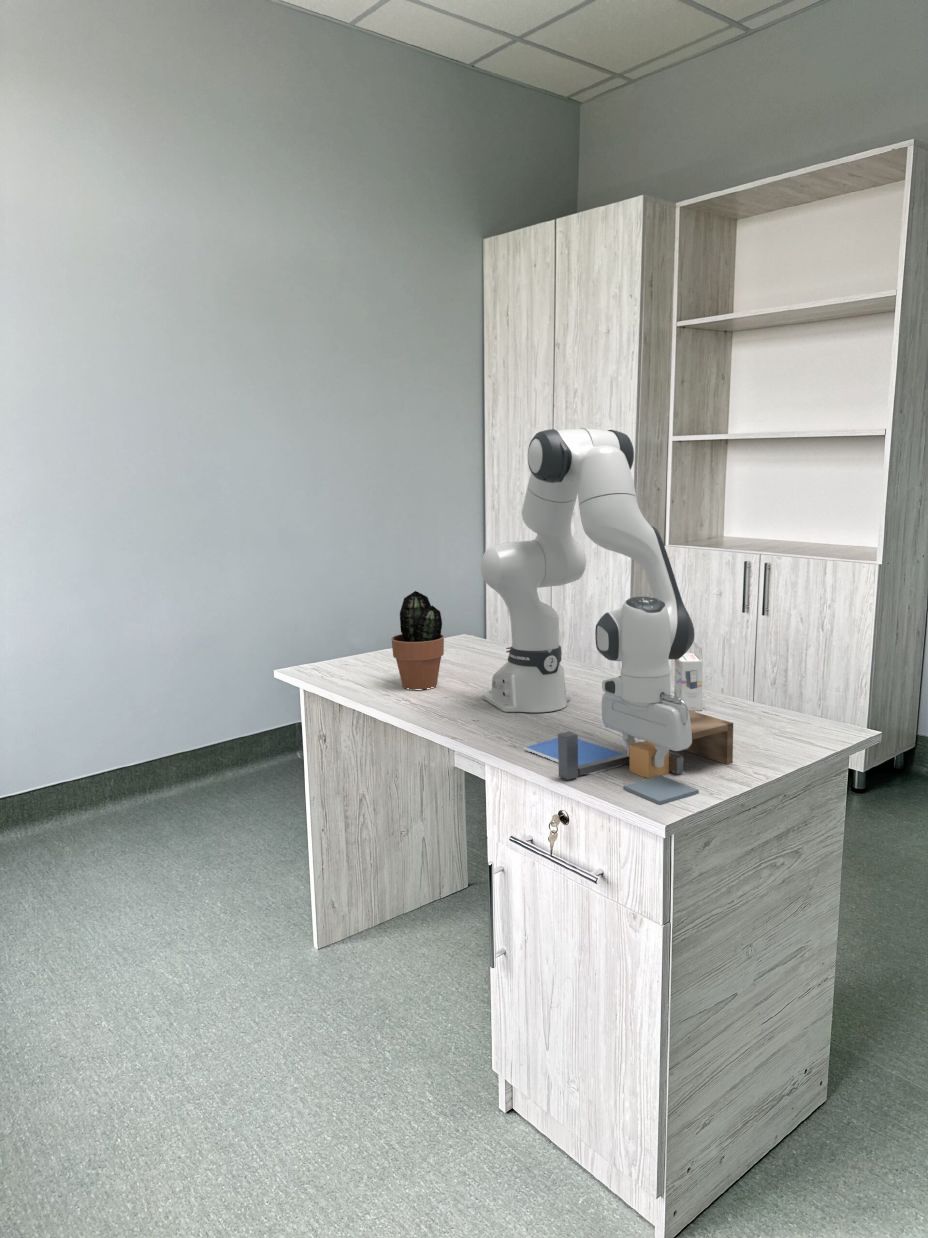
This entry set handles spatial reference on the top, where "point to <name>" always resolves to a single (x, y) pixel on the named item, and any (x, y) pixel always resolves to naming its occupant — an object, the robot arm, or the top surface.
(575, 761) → the grey u-shaped bracket
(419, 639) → the potted plant
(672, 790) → the slate mat
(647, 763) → the orange block
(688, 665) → the ink box
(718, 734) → the walnut shelf
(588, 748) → the blue flat slab
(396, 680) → the top surface
